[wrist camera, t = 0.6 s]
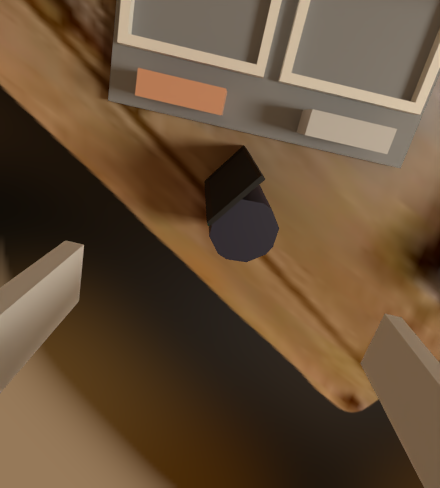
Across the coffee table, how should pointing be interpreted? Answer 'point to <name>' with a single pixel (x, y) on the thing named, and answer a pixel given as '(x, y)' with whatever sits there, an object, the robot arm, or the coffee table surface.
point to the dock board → (284, 68)
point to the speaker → (239, 210)
